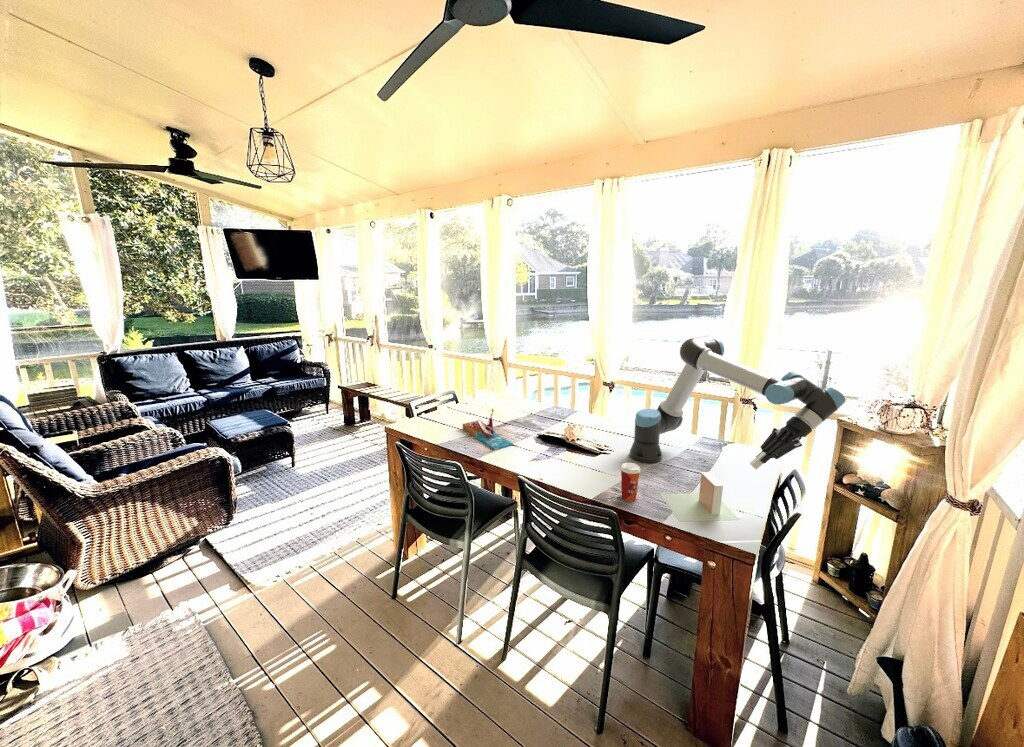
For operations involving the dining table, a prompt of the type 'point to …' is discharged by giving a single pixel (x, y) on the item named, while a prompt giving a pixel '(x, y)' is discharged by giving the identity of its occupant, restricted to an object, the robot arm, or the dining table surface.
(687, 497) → the rubber mat
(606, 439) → the dining table surface
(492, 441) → the sailboat model
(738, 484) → the dining table surface
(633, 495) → the paper cup
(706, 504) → the pale orange box
